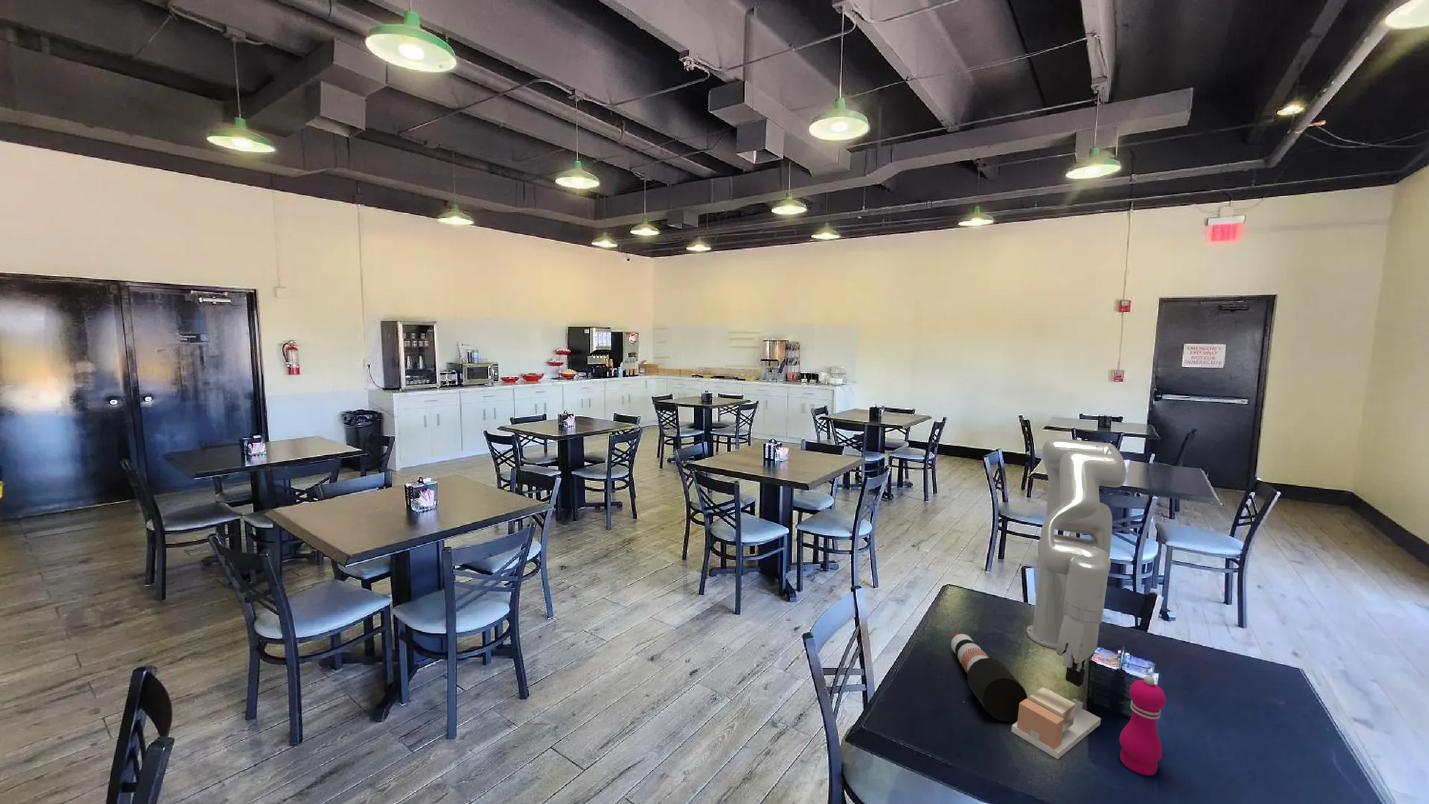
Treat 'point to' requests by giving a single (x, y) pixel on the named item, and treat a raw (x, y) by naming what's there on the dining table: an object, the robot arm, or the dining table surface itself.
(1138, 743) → the pepper mill
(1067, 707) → the block
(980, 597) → the dining table surface
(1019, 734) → the rail base
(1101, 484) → the robot arm
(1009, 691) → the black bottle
